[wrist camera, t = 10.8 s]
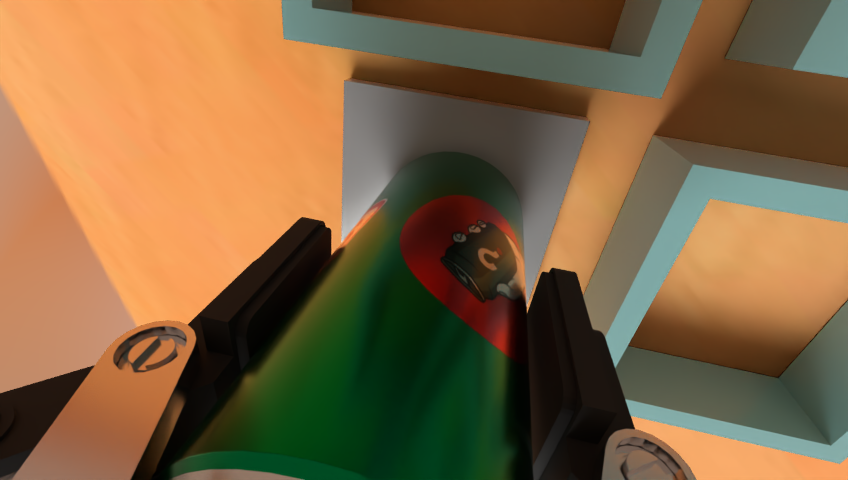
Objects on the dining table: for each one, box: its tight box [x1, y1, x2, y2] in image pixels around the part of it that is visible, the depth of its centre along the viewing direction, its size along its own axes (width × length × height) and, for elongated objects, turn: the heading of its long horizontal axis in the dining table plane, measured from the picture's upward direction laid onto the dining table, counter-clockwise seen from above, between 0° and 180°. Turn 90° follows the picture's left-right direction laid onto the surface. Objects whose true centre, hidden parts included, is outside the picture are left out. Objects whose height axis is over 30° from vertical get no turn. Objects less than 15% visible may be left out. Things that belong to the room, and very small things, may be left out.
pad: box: [341, 78, 590, 304], centre depth 15 cm, size 8×8×1 cm
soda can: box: [157, 151, 534, 480], centre depth 9 cm, size 5×5×12 cm
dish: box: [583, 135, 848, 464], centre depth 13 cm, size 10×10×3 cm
